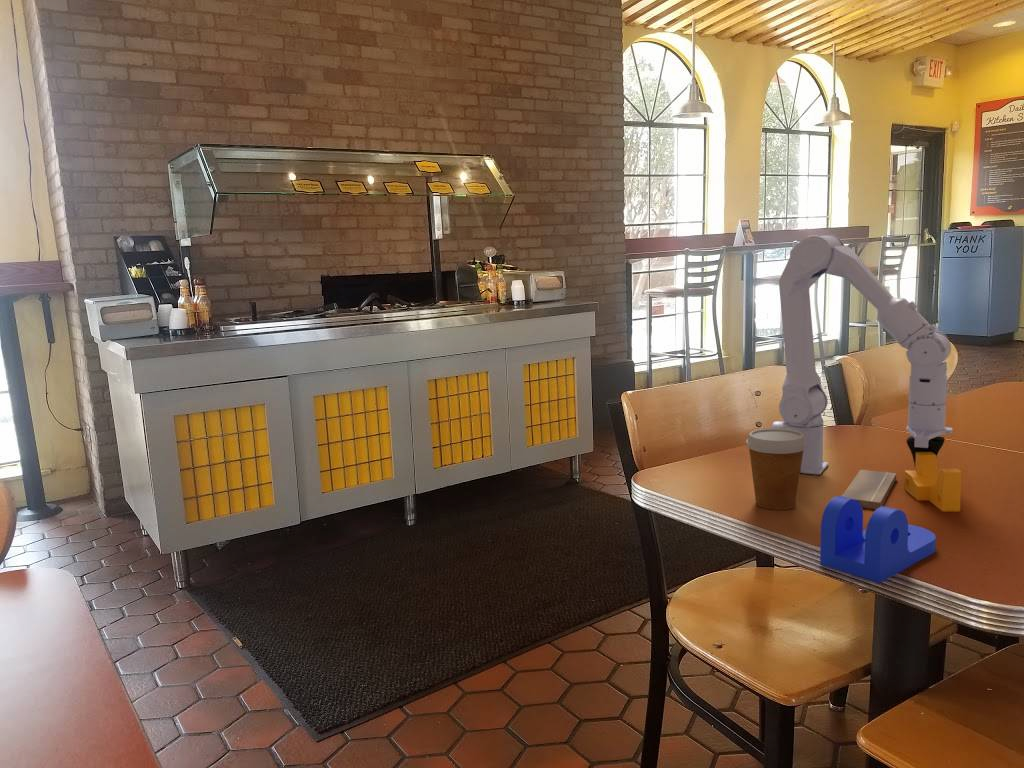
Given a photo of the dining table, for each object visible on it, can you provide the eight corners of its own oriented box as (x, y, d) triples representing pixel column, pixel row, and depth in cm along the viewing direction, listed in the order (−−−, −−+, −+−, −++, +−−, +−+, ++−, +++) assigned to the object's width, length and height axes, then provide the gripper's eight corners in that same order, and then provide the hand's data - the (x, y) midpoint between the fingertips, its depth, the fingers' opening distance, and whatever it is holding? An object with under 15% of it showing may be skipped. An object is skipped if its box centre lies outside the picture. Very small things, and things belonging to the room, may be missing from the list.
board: (840, 504, 130) (840, 497, 130) (860, 475, 145) (860, 469, 145) (880, 509, 127) (880, 502, 127) (896, 479, 142) (896, 473, 141)
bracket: (879, 584, 101) (881, 517, 99) (820, 565, 107) (821, 502, 106) (946, 547, 111) (949, 486, 110) (888, 532, 118) (890, 474, 116)
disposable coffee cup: (779, 517, 126) (780, 444, 124) (733, 502, 134) (733, 434, 132) (818, 505, 130) (819, 434, 128) (771, 491, 138) (772, 425, 136)
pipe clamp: (903, 488, 137) (904, 452, 136) (930, 488, 136) (931, 452, 135) (930, 511, 125) (932, 472, 124) (960, 511, 124) (961, 471, 123)
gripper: (950, 412, 128) (946, 492, 130) (956, 396, 140) (953, 469, 142) (902, 409, 132) (899, 487, 134) (912, 393, 143) (909, 465, 146)
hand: (924, 478), depth 138 cm, fingers closed
